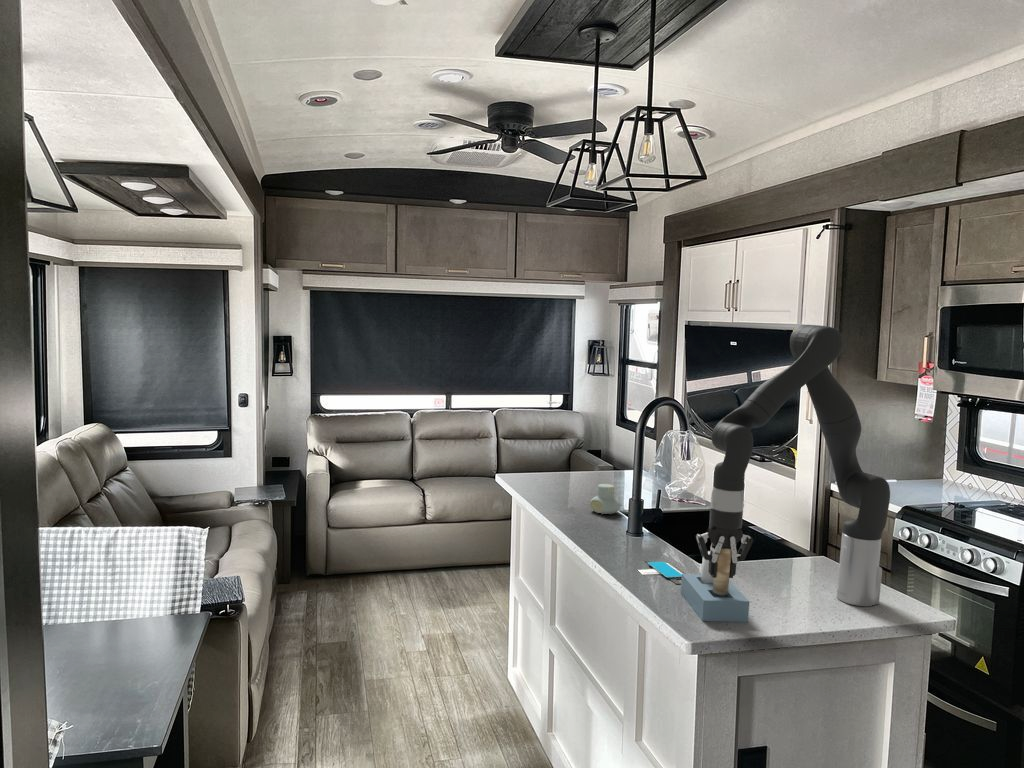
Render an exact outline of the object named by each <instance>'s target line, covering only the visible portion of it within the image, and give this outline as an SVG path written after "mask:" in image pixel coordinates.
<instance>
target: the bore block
mask: <svg viewBox="0 0 1024 768" xmlns="http://www.w3.org/2000/svg"><path fill="white" fill-rule="evenodd" d="M707 551H708V554H709V553H710V550H707ZM708 568H709V560H705V559H704V557H702V564H701V573H700V574H699V573H698V574H696V573H686V574H682V578H680V579H681V582H680V583H681V584H680V594H681V595H682V597H683V598H684V599H685V601H686V602H687V603H688V604H689V607H691V609H692V610H693V611H694V612H695V613H696V615H697V617H698V618H699V619H700V621H702V622H730V623H731V622H735V623H736V622H737V623H739V622H740V623H748V622H749V614H750V613H749V612H750V603H751V602H750V600H749V599H748V598H747V597H746V596H745V595H744V594H743V593H742V592H741V591H740V590H739V589H738V588H737V587H736V586H735V585H734V584H733V583H732V582H731V581H730V580H729V589H728V594H726V595H721V594H716V593H714V592H713V581H714V578H713V577H712V576H711V575H710V574H709V572H708Z"/></svg>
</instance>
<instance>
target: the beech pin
mask: <svg viewBox="0 0 1024 768" xmlns="http://www.w3.org/2000/svg"><path fill="white" fill-rule="evenodd" d="M716 563H717V572H716V578H714V581H713V592H714V593H716V594H721V595H726V594H728V589H729V581H730V578H729V576H730V563H731V549H721V551H720V554H719V555H718V558H717V561H716Z"/></svg>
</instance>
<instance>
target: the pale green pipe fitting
mask: <svg viewBox="0 0 1024 768" xmlns="http://www.w3.org/2000/svg"><path fill="white" fill-rule="evenodd" d="M589 506H590V508H591V510H592V511H594V512H595V513H597V514H598V513H601V514H600V515H603V514H609V515H613V514H616V513H618V511H620V509H621V502H620V501H619V499H618V498H617V497H615V486H614V485H613V484H609V483H600V484H598V485H597V495H596V496H594V497H593V498H591V500H590V502H589Z"/></svg>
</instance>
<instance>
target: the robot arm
mask: <svg viewBox="0 0 1024 768" xmlns="http://www.w3.org/2000/svg"><path fill="white" fill-rule="evenodd" d="M843 347H844V339H843V336H842V334H841V332H840V331H839V330H838V329H837V328H835V327H832V326H828V325H818V324H801V325H798V326H797V327H795V328H794V329H793V331H792V332H791V334H790V338H789V349H790V352H791V354H792V357H793V360H794V362H793V363H792V364H790V365H789V366H788V367H786V368H785V369H783V370H782V371H780V372H779V373H777V374H775V375H774V376H772V377H770V378H769V379H767V380H765V381H764V382H763V383H762V384H760V385H759V386H757V388H755V390H754V391H753V392H752V393H751V394H750V396H749V397H747V398H746V400H745V401H744V402H743V403H742V404H741V405H740V406H739V407H737V408H736V409H734V410H733V411H731V412H730V413H729V414H727V415H726V416H725V417H723V418H722V419H721V420H719V421H718V422H717V424H716V425H715V426H714V428H713V430H712V433H711V437H710V440H711V443H712V445H713V446H714V447H715V448H716V449H717V450H719V451H722V452H725V455H724V456H723V457H724V458H723V461H720V462H718V463H717V464H715V467H714V470H713V485H712V490H711V491H712V492H711V496H710V507H709V519H708V520H709V521H708V522H709V523H708V524H709V525H708V528H707V530H706V532H705V533H702V534H700V533H697V534H696V535H695V539H696V542H697V545H698V549H699V552H700V554H701V557H702V558H703V557H704V559H705V560H709V568H708V572H709V574H710V575H711V576H712V577H713V578H716V572H717V563H716V561H717V558H718V555H719V554H720V551H721V549H731V563H730V576H729V579H733V578H734V577H735V576H736V574H737V564H738V562H741V561H742V562H744V561H745V559H746V557H747V555H748V553H749V551H750V549H751V547H752V545H753V542H754V538H752V537H751V536H750V535H748V534H744V533H743V530H742V528H743V518H744V517H743V516H744V515H743V514H744V507H745V495H744V488H745V474H746V470H747V468H748V466H749V462H750V459H751V456H752V453H753V449H754V437H753V436H754V435H753V433H752V431H751V430H752V429H756V428H762V427H763V426H765V425H767V423H768V422H769V421H770V420H771V419H772V418H773V417H774V415H775V414H776V413H778V411H779V410H780V409H781V408H782V406H783V405H784V404H785V403H787V401H789V399H790V398H792V396H793V395H795V394H796V393H797V392H799V390H801V389H802V387H804V386H805V385H806V389H807V391H808V394H809V398H810V400H811V402H812V405H813V409H814V411H815V415H816V417H817V422H818V424H819V427H820V429H821V432H822V434H823V437H824V438H823V439H824V440H825V443H826V447H827V450H828V454H829V456H830V460H831V463H832V467H833V472H834V475H835V476H834V477H835V482H836V485H837V490H838V493H839V496H840V498H841V500H842V501H843V502H844V503H845V504H847V505H849V506H851V507H854V508H857V509H858V514H857V518H855V519H848V520H845V521H844V522H843V523H842V532H841V540H840V541H841V542H840V552H839V553H840V554H839V555H840V556H839V567H838V574H837V575H838V577H837V588H836V598H837V600H839V601H841V602H843V603H846V604H849V605H853V606H859V607H871V606H872V605H873V606H875V605H879V604H880V597H881V588H882V587H881V586H882V579H883V578H882V575H883V568H882V566H880V558H881V547H882V537H883V532H884V530H885V528H886V526H887V520H888V514H889V507H890V502H891V501H890V500H891V488H890V485H889V482H888V481H887V479H885V478H883V477H882V476H878V475H875V474H871V473H868V472H864V471H863V470H862V468H861V466H860V464H859V460H858V456H857V452H856V451H857V447H858V443H859V441H860V438H861V434H862V424H861V420H860V416H859V414H858V411H857V408H856V405H855V403H854V401H853V399H852V398H851V396H850V395H849V393H847V390H845V389H844V387H843V386H842V385H841V384H840V382H839V381H838V380H837V379H836V377H834V374H832V372H831V370H830V367H829V366H830V365H831V364H832V363H833V362H835V361H836V360H837V359H838V358H839V356H840V354H841V353H842V350H843ZM708 539H709V540H710V542H711V544H710V547H709V548H710V550H708V549H707V548H708V547H707V545H706V544H707V542H708ZM740 541H741V544H740V546H739V549H738V550H737V544H738V543H739V542H740ZM708 551H710V553H709V554H708Z"/></svg>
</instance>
